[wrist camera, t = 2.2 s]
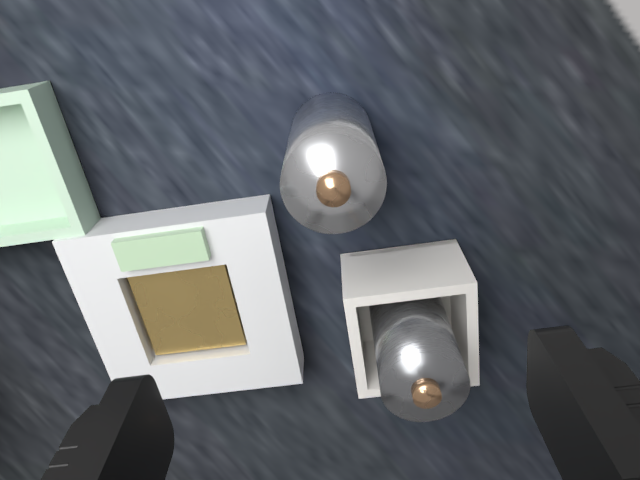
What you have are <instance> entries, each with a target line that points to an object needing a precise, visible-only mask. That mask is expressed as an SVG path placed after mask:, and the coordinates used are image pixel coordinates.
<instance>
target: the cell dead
mask: <svg viewBox="0 0 640 480" xmlns="http://www.w3.org/2000/svg"><path fill="white" fill-rule="evenodd" d="M369 311H370V319H371V326H372V334H373V341H374V348H375V356H376V363H377V371H378V378H379V386H380V393H381V398H382V401H383V403H384V404H385V406H386V407H387V408H388V410H389V411H391V412H392V413H393V414H395V415H396V416H398V417H400V418H403V419H405V420H409V421H415V422H429V421H435V420H439V419H442V418H444V417H446V416H449V415H450V414H452V413H454V412H455V411H456V410H458V409H459V408H460V407H461V406H462V405H463V403H464V402H465V401H466V399H467V397H468V395H469V391H470V378H469V375H468V372H467V370H466V367H465V364H464V361H463V358H462V356H461V353H460V350H459V347H458V345H457V342H456V339H455V336H454V333H453V331H452V328H451V325H450V322H449V319H448V317H447V314H446V311H445V308H444V306H443V303H442V300H441V297H435V298H427V299H419V300H411V301H403V302H395V303H387V304H378V305H370V306H369Z"/></svg>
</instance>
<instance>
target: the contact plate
mask: <svg viewBox="0 0 640 480" xmlns="http://www.w3.org/2000/svg"><path fill="white" fill-rule="evenodd" d="M127 278H128V281H129V283H130V286H131V289H132V291H133V294H134V297H135V300H136V302H137V305H138V308H139V310H140V313H141V316H142V318H143V321H144V324H145V327H146V329H147V332H148V335H149V337H150V340H151V343H152V345H153V348H154V351H155V354H156V355H163V354H171V353H179V352H188V351H196V350H204V349H213V348H221V347H229V346H238V345H246V341H247V340H246V336H245V332H244V328H243V325H242V321H241V317H240V313H239V310H238V306H237V302H236V298H235V295H234V291H233V287H232V284H231V280H230V276H229V272H228V269H227V265H226V264H225V265H218V266H210V267H203V268H195V269H187V270H180V271H172V272H165V273H157V274H150V275H142V276H134V277H127Z"/></svg>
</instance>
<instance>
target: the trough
mask: <svg viewBox="0 0 640 480" xmlns="http://www.w3.org/2000/svg"><path fill="white" fill-rule="evenodd" d="M100 219H101V217H100V214H99V211H98V209H97V206H96V203H95V201H94V198H93V195H92V193H91V190H90V187H89V185H88V182H87V179H86V177H85V174H84V171H83V169H82V166H81V163H80V161H79V158H78V155H77V153H76V150H75V147H74V145H73V142H72V139H71V137H70V134H69V131H68V129H67V126H66V123H65V121H64V118H63V115H62V112H61V110H60V107H59V104H58V102H57V99H56V96H55V94H54V91H53V88H52V86H51V83H50V81H45V82H39V83H33V84H26V85H20V86H14V87H8V88H2V89H0V247H4V246H12V245H19V244H26V243H33V242H40V241H48V240H55V239H62V238H69V237H76V236H84V235H86V234H87V233H88V232H89V231H90V230H91V228H92V227H93V226H94V225H95V224H96V223H97V222H98V221H99V220H100Z"/></svg>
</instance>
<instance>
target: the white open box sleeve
mask: <svg viewBox="0 0 640 480" xmlns="http://www.w3.org/2000/svg"><path fill="white" fill-rule="evenodd" d="M340 256H341V274H342V291H343V303H344V309H345V315H346V322H347V328H348V334H349V340H350V347H351V353H352V359H353V366H354V372H355V378H356V385H357V391H358V397H359V399H361V398H370V397H380V396H381V393H380V386H379V378H378V371H377V363H376V356H375V348H374V341H373V334H372V326H371V319H370V311H369V306H370V305H378V304H387V303H395V302H403V301H411V300H419V299H427V298H435V297H441V300H442V303H443V306H444V308H445V311H446V314H447V317H448V319H449V322H450V325H451V328H452V331H453V333H454V336H455V339H456V342H457V345H458V347H459V350H460V353H461V356H462V358H463V361H464V364H465V367H466V370H467V372H468V375H469V378H470V386H479V385H480V380H479V333H478V287H477V281H476V279H475V277H474V275H473V273H472V271H471V269H470V267H469V265H468V263H467V261H466V259H465V257H464V255H463V253H462V251H461V248H460V246H459V244H458V242H457V240H456V239H452V240H444V241H437V242H429V243H422V244H414V245H406V246H399V247H391V248H383V249H376V250H368V251H361V252H353V253H345V254H340Z"/></svg>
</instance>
